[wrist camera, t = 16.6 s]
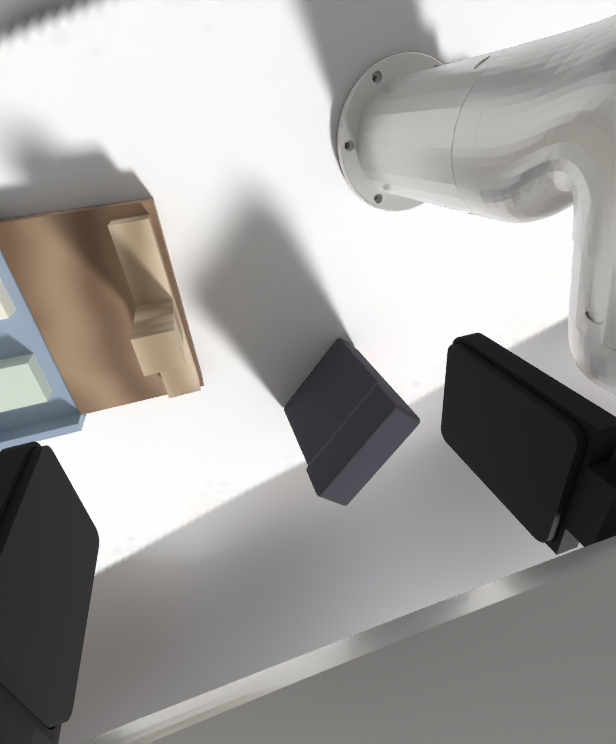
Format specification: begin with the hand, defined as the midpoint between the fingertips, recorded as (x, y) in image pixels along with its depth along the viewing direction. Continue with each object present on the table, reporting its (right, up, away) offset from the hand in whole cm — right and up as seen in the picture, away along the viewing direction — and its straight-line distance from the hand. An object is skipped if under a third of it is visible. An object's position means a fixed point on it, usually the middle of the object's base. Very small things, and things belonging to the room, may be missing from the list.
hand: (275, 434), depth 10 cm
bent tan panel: (-13, +7, +28) cm, 31 cm away
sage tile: (-25, +1, +28) cm, 38 cm away
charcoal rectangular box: (+2, +1, +39) cm, 39 cm away
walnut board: (-17, +7, +29) cm, 34 cm away
